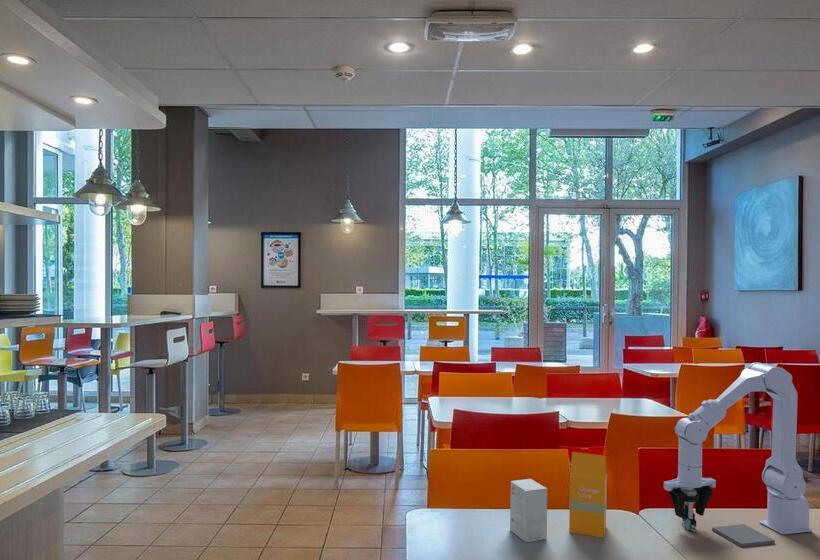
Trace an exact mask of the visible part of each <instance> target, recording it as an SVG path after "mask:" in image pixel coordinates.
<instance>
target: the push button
mask: <svg viewBox="0 0 820 560" xmlns="http://www.w3.org/2000/svg"><path fill="white" fill-rule="evenodd" d="M681 491H683V493H685V494H687V496H686V499H685V503H684V514H683V518H681V527H685V529H686V530H687V531H692V532H696V527H697V520H696V515H695V514H696V513H694V508H693V507H694V504H695V503H696V502H697V501H699V497H700V494H698V493H697V492H696V490H695V489H693V488H689V489H681Z"/></svg>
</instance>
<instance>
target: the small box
mask: <svg viewBox="0 0 820 560" xmlns="http://www.w3.org/2000/svg"><path fill="white" fill-rule="evenodd" d="M509 503H510V504H509V505H510V506H509V507H510V509H509V510H510V511H509V512H510V513H509V514H510V515H509V518H510V519H509V531H511V532H512V533H513V534H514V535H516V536H517V537H518V538H519V539H520V540H522V541H523V542H524V543H532V542H538V541H542V540H543V541H544V540H547V539H548V488H547V487H546V486H543V485H542V484H541V483H539V482H537V481H535V480H534V479H532V478H526V479H517V480H511V481H510V502H509Z"/></svg>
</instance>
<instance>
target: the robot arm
mask: <svg viewBox="0 0 820 560" xmlns="http://www.w3.org/2000/svg"><path fill="white" fill-rule="evenodd" d="M751 392H765V393H767V394H768V395H769V396H770V397H771V398H772V424H771V425H772V428H771V429H772V430H771V456H770V457H769V458H767V459H766V460H765V466H764V469H763V470H762V473H761V478H762V479H761V480H762V482H763V483H764V484H765V485H766V490H767V506H766V507H767V508H766V509H767V510H766V511H767V514H766V515H767V518H766V519H765V520H759V521H758V522H759V523H760V524H762V526H763V525H764V526H765V527H767V528H769V529H771V530H773V531H775V532H777V533H779V534H781V535H792V534H801V533H810V532H813V529H812V528H810V505H809V502H808V499H807V498H806V497H805V493H806V491H807V484H806V481H805V479H804V471H803V469H802V468H801V466H800V465H799V463H798V462H797V428H798V427H797V426H798V425H797V422H798V392H797V389H796V388H795V385H794V384H793V375H792V374H791V373H790V372H788V371H787V370H786V369H784V368H783V367H780V366H774V365H770V364H765V363H762V362H757V361H756V362H752V363H751V364H749V365H748V366H747V368H744V369H743V370H742V371H741V373H740V375H739V377H737V379H736V380H734V381H733V382H732V383H731V384H730V386H728V387H727V388H726V389H725V390H724V391H723V392H722V393H721V394H720V395H719V396H718V397H717V398H716V399H708V400H703V401H702V402H701V406H699V407H698V408H697V409H695V410H694V411H693V412H690V413H689V414H688V417H682V418H680V419H679V420H678V421H677V423H676V425H675V426H674V428H673V429H674V432H675V434H676V436H677V437H678V453H677V454H678V457H677V458H678V464H677V469H678V471H677V478H674V479H671V480H666V481H663V489H664V490H665V491H666V492H667V494H668V495H669V497H670V500H671V502H672V505H673V509H674V513H675V516H677V517H678V518H681V519H682V518H683V514H684V506H685V499H686V496H687V494H685V493H683V491H681V490H682V489H689V488H692V489H695V490H696V492H697V493H698V494H700V497H699V501H697V502H696V503H694V507H695V508H694V509H695V511H694V512H695V514H696V515H697V514H698V515H699V516H700V517H702V516H704V513H705V510H706V508H707V505H708V503H709V500H710V499H711V497H712V496H713V495H714V490H713V488H716V486H717V485H716V483H717V480H716V479H713V478H712V477H703V442H705V441H706V440H707V438H708V435H709V432H710V430H712V429H713V428H714V427H715V426H716V425H717V424H718V423H719V422H721V421H723V419H725V417H726V416H727V409H729V408H730V407H732V406H734V404H736V403H738V402H739V401H740V400H742V399H743V398H744V397H745V396H746V395H748V394H749V393H751ZM711 488H712V489H711Z"/></svg>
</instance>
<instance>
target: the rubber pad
mask: <svg viewBox="0 0 820 560" xmlns="http://www.w3.org/2000/svg"><path fill="white" fill-rule="evenodd" d="M711 530H712V531H713V532H715V533H716V534H718V535H719V536H721V537H723V538H724V539H727V541H730V542H732V543H733V544H735V545H737V546H738V547H740V548H743V547H745V548H747V547H753V546H754V547H755V546H762V545H763V546H764V545H765V546H766V545H772V544H773V545H774V544H775V542H776V541H775V539H773V538H771V537H770V536H768V535H766V534H764V533H763V532H760V531H758V530H756V529H754V528H752V527H751V526H749V525H746V524H743V523H742V524H733V525H732V524H731V525H722V526H713V527H711Z"/></svg>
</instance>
